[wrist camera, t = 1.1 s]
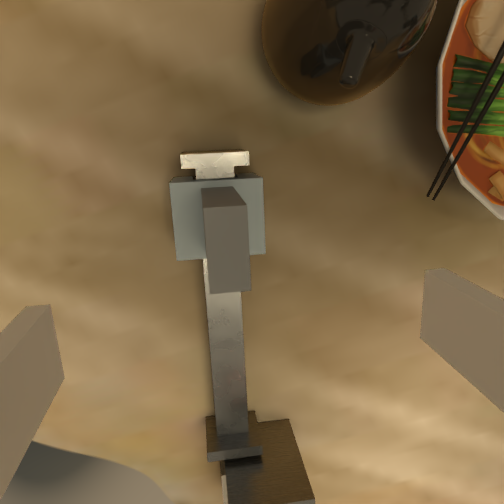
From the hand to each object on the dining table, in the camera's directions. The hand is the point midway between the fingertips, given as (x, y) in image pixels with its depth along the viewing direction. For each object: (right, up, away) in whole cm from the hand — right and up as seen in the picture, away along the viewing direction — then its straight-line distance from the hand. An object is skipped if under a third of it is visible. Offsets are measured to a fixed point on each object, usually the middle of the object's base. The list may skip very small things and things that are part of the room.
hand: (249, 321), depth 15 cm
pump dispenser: (+5, +19, +20) cm, 28 cm away
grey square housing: (+1, -19, +29) cm, 35 cm away
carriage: (-3, +6, +22) cm, 23 cm away
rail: (-3, -2, +24) cm, 24 cm away
